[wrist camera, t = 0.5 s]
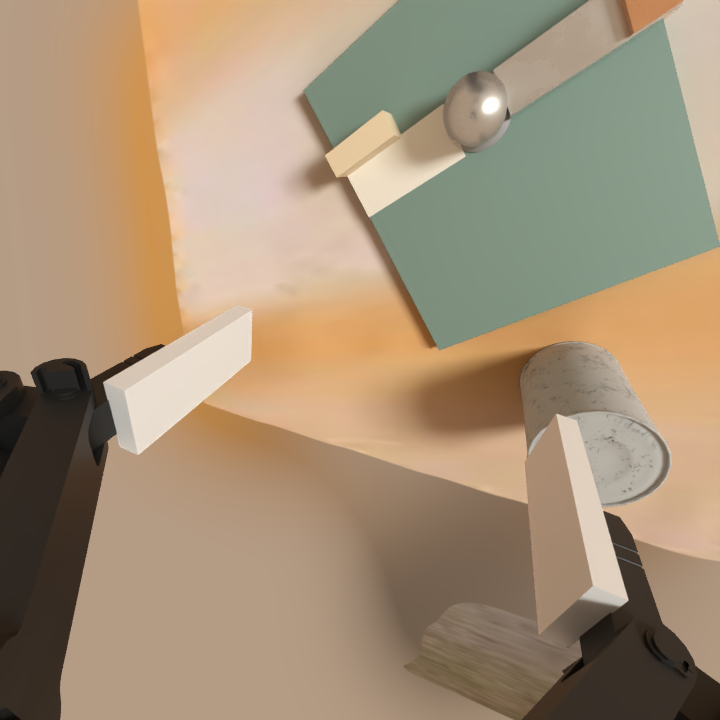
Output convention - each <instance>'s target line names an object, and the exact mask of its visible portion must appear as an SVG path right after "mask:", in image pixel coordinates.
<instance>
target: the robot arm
mask: <svg viewBox="0 0 720 720" xmlns="http://www.w3.org/2000/svg"><path fill="white" fill-rule="evenodd" d="M251 342H252V309H249V308H246V307H243V306H240V305H236V306H234V307H232V308H230V309H229V310H227V311H225V312H224V313H222V314H220V315H218V316H217V317H215V318H213V319H211V320H210V321H208V322H206V323H205V324H203V325H201V326H199V327H198V328H196V329H194V330H192V331H191V332H189V333H187V334H186V335H184V336H182V337H180V338H179V339H177V340H175V341H173V342H172V343H170V344H168V345H167V346H165V345H162V344H160V345H157V346H153V347H150V348H146V349H144V350H142V351H141V352H139V353H137V354H135V355H134V357H130V358H128V359H126V360H124V362H121V363H119V364H117V365H115V366H114V367H112V368H110V369H108V370H106V371H105V372H103V373H101V374H99V375H97V376H95V377H94V378H92V379H90V377H89V373H88V370H87V366H86V364H85V363H84V362H83V361H80V360H77V359H71V358H62V359H55V360H51V361H48V362H44V363H42V364H40V365H39V366H37V367H35V368H34V369H33V371H31V375H32V378H33V380H34V383H35V385H36V387H30V386H23V383H22V381H21V378H20V376H19V375H18V374H16V373H15V372H10V371H0V720H60V716H61V715H60V714H61V698H60V680H61V674H62V668H63V664H64V659H65V654H66V650H67V645H68V640H69V635H70V630H71V626H72V620H73V616H74V611H75V606H76V601H77V596H78V592H79V587H80V582H81V577H82V573H83V568H84V563H85V558H86V554H87V548H88V544H89V539H90V534H91V530H92V525H93V520H94V515H95V510H96V505H97V501H98V496H99V491H100V486H101V481H102V476H103V471H104V467H105V462H106V458H107V453H108V442H107V441H108V440H109V439H110V438H112V437H113V436H114V435H117V439H118V443H119V447H121V448H123V449H126V450H128V451H130V452H133V453H135V454H137V455H139V454H140V453H141V452H142V451H144V450H145V449H146V448H147V447H148V446H150V445H151V444H152V443H153V442H154V441H156V440H157V439H158V438H159V437H160V436H162V435H163V434H164V433H165V432H166V431H168V430H169V429H170V428H171V427H172V426H173V425H175V424H176V423H177V422H178V421H180V420H181V419H182V418H183V417H184V416H186V415H187V414H188V413H189V412H190V411H191V410H193V409H194V408H195V407H196V406H197V405H199V404H200V403H201V402H202V401H203V400H205V399H206V398H207V397H208V396H209V395H211V394H212V393H213V392H214V391H215V390H217V389H218V388H219V387H220V386H221V385H223V384H224V383H225V382H226V381H227V380H229V379H230V378H231V377H232V376H233V375H235V374H236V373H237V372H238V371H239V370H241V369H242V368H243V367H244V366H245V365H247V364H248V363H249V362H250V361H251ZM525 470H526V483H527V495H528V506H529V507H528V508H529V520H530V533H531V545H532V557H533V571H534V583H535V595H536V608H537V621H538V634H539V635H540V636H542V637H544V638H546V639H548V640H551V641H553V642H555V643H557V644H560V645H562V646H564V647H566V648H569V647H570V646H571V645H573V644H574V643H575V642H576V641H578V640H579V639H580V644H581V650H582V657H581V658H579V659H578V660H577V661H575V662H574V663H573V664H571V665H570V666H568V667H567V668H566V669H564V670H563V673H564V675H563V676H562V677H561V678H560V679H559V680H558V681H557V682H556V683H555V684H554V685H553V687H552V688H551V689H550V690H549V691H548V692H547V693H546V694H545V695H544V696H543V697H542V698H541V700H540V701H539V702H538V703H537V704H536V705H535V706H534V707H533V708H532V709H531V710H530V711H529V712H528V714H527V715H526V716H525V717H524V718H523V719H522V720H720V684H719V683H718V682H717V681H715V680H714V679H712V678H711V677H710V676H708V675H707V674H705V673H704V672H703V671H701V670H700V669H699V668H698V667H696V666H695V663H694V660H693V658H692V656H691V655H690V653H689V651H688V650H687V648H686V646H685V645H684V644H683V643H682V642H681V641H680V639H679V638H678V637H677V636H676V635H675V633H673V632H672V631H671V630H670V629H668V628H667V627H666V626H665V625H664V624H663V623H662V621H661V618H660V615H659V612H658V609H657V607H656V603H655V600H654V598H653V595H652V592H651V589H650V586H649V583H648V580H647V578H646V575H645V571H644V569H642V563H641V560H640V557H639V555H638V554H637V552H638V551H637V549H636V545H635V543H634V540H633V537H632V534H631V533H630V531H629V530H628V528H627V527H626V526H625V524H624V523H623V521H622V520H621V518H620V517H618V516H615V515H613V514H610V513H607V512H605V511H603V509H602V506H601V502H600V499H599V496H598V492H597V489H596V485H595V482H594V478H593V475H592V471H591V468H590V464H589V461H588V457H587V454H586V450H585V447H584V443H583V440H582V436H581V433H580V429H579V426H578V422H577V420H574V419H571V418H568V417H565V416H562V415H559V414H556V415H555V416H554V418H553V419H552V421H551V422H550V424H549V425H548V427H547V429H546V430H545V432H544V433H543V435H542V436H541V438H540V439H539V441H538V442H537V444H536V446H535V447H534V449H533V450H532V452H531V453H530V455H529V456H528V458H527V460H526V461H525Z"/></svg>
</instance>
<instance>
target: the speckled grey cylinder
mask: <svg viewBox="0 0 720 720" xmlns="http://www.w3.org/2000/svg"><path fill="white" fill-rule="evenodd" d="M520 388H521V393H522V402H523V412H524V422H525V432H526V442H527V452H528V453H527V458H528V456H529V455H530V453H531V452H532V450H533V449H534V447H535V446H536V444H537V442H538V441H539V439H540V438H541V436H542V435H543V433H544V432H545V430H546V429H547V427H548V425H549V424H550V422H551V421H552V419H553V418H554V416H555V415H556V414H559V415H562V416H565V417H568V418H571V419H574V420H577V422H578V426H579V429H580V433H581V436H582V440H583V443H584V447H585V450H586V454H587V457H588V461H589V464H590V468H591V471H592V475H593V478H594V482H595V485H596V489H597V492H598V496H599V499H600V502H601V506H602V507H614V506H622V505H626V504H629V503H633V502H636V501H639V500H641V499H643V498H645V497H647V496H649V495H650V494H652V493H653V492H654V491H655V490H657V489H658V488H659V487H660V486H661V485H662V484H663V482H664V481H665V480H666V478H667V477H668V474H669V471H670V468H671V453H670V450H669V447H668V445H667V443H666V441H665V440H664V439H663V437H662V436H661V435H660V434H659V432H658V430H657V429H656V427H655V425H654V424H653V422H652V420H651V418H650V417H649V415H648V413H647V412H646V410H645V408H644V407H643V405H642V403H641V402H640V400H639V398H638V396H637V395H636V393H635V391H634V390H633V388H632V386H631V385H630V383H629V381H628V379H627V378H626V376H625V374H624V373H623V371H622V369H621V366H620V364H619V362H618V361H617V360H616V359H615V357H614V356H613V355H612V354H610V353H609V352H608V351H606V350H605V349H603V348H601V347H599V346H596V345H594V344H590V343H585V342H571V341H569V342H563V343H557V344H554V345H551V346H548V347H546V348H544V349H542V350H541V351H539V352H537V353H536V354H535V355H534V356H533V357H532V358H530V359H529V361H528V362H527V363H526V365H525V366H524V368H523V370H522V373H521V376H520Z"/></svg>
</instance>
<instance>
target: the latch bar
mask: <svg viewBox="0 0 720 720" xmlns="http://www.w3.org/2000/svg"><path fill="white" fill-rule="evenodd" d="M682 2H683V0H589V1H588V2H586V3H585V4H583V5H582V6H581V7H579V8H578V9H577V10H575V11H574V12H572V13H571V14H570V15H568V16H567V17H566V18H564V19H563V20H561V21H560V22H559V23H557V24H556V25H555V26H553V27H552V28H550V29H549V30H548V31H546V32H545V33H543V34H542V35H541V36H539V37H538V38H537V39H535V40H534V41H532V42H531V43H530V44H528V45H527V46H526V47H524V48H523V49H521V50H520V51H519V52H517V53H516V54H515V55H513V56H512V57H510V58H509V59H508V60H506V61H505V62H504V63H502V64H501V65H499V66H498V67H497V68H495V69H494V70H493V72H494V74H492V73H490V72H487V71H475V72H472V73H469V74H467V75H465V76H464V77H462V78H461V79H460V80H458V81H457V82H456V83H455V84H454V86H453V87H452V88H451V90H450V92H449V93H448V95H447V97H446V100H445V104H444V109H443V121H444V126H445V129H446V131H447V133H448V134H449V136H450V137H451V138H452V139H453V140H454V141H456V142H457V143H459V144H462V145H464V146H467V147H478V146H482V145H484V144H486V143H488V142H489V141H491V140H492V139H493V138H494V137H495V136H496V135H497V134H498V132H499V131H500V129H501V128H502V126H503V123H504V121H505V117H506V112H507V113H508V116H509V119H511V118H513V117H514V116H516V115H517V114H519V113H520V112H522V111H524V110H525V109H527V108H528V107H530V106H531V105H533V104H534V103H536V102H538V101H539V100H541V99H542V98H544V97H545V96H547V95H548V94H550V93H552V92H553V91H555V90H556V89H558V88H559V87H561V86H562V85H564V84H566V83H567V82H569V81H570V80H572V79H573V78H575V77H576V76H578V75H580V74H581V73H583V72H584V71H586V70H587V69H589V68H590V67H592V66H594V65H595V64H597V63H598V62H600V61H601V60H603V59H604V58H606V57H608V56H609V55H611V54H612V53H614V52H615V51H617V50H618V49H620V48H622V47H623V46H625V45H626V44H628V43H629V42H631V41H632V40H634V39H636V38H637V37H639V36H640V35H642V34H643V33H645V32H646V31H648V30H649V29H651V28H653V27H654V26H656V25H657V24H659V23H660V22H662V21H663V20H665V19H666V18H667V17H668V16H670V15H671V14H672V13H673V12H674V11H676V10H677V9H678V8H679V7H680V6H681V5H682Z"/></svg>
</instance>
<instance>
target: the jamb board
mask: <svg viewBox="0 0 720 720" xmlns="http://www.w3.org/2000/svg"><path fill="white" fill-rule="evenodd" d="M588 1H589V0H399V1H398V2H397V3H396V4H395V5H394V6H393V7H392V8H391V9H390V10H389V11H388V12H386V13H385V14H384V15H383V16H382V17H381V18H380V19H379V20H378V21H377V22H376V23H375V24H374V25H373V26H372V27H370V28H369V29H368V30H367V31H366V32H365V33H364V34H363V35H362V36H361V37H360V38H359V39H358V40H357V41H356V42H355V43H353V44H352V45H351V46H350V47H349V48H348V49H347V50H346V51H345V52H344V53H343V54H342V55H341V56H340V57H339V58H338V59H336V60H335V61H334V62H333V63H332V64H331V65H330V66H329V67H328V68H327V69H326V70H325V71H324V72H323V73H322V74H321V75H319V76H318V77H317V78H316V79H315V80H314V81H313V82H312V83H311V84H310V85H309V86H308V87H307V88H306V89H305V90H304V93H305V95H306V97H307V99H308V101H309V103H310V104H311V106H312V108H313V110H314V112H315V114H316V116H317V118H318V120H319V122H320V124H321V125H322V127H323V129H324V131H325V133H326V135H327V137H328V139H329V141H330V143H331V145H332V147H333V148H334V149H333V150H331V151H330V152H329V153H327V154H326V155H325V157H326V159H327V161H328V163H329V164H330V166H331V168H332V170H333V172H334V174H335V176H336V178H337V177H348V179H349V180H350V182H351V184H352V186H353V188H354V190H355V192H356V194H357V196H358V198H359V200H360V201H361V203H362V205H363V207H364V209H365V211H366V213H367V215H368V217H370V219H371V221H372V223H373V225H374V227H375V229H376V231H377V233H378V234H379V236H380V238H381V240H382V242H383V244H384V246H385V248H386V250H387V252H388V254H389V255H390V257H391V259H392V261H393V263H394V265H395V267H396V269H397V271H398V273H399V275H400V277H401V278H402V280H403V282H404V284H405V286H406V288H407V290H408V292H409V294H410V296H411V298H412V299H413V301H414V303H415V305H416V307H417V309H418V311H419V313H420V315H421V317H422V319H423V321H424V322H425V324H426V326H427V328H428V330H429V332H430V334H431V336H432V338H433V340H434V342H435V343H436V345H437V347H438V349H439V350H442V349H444V348H447V347H450V346H452V345H455V344H458V343H461V342H463V341H466V340H469V339H471V338H474V337H477V336H479V335H482V334H485V333H488V332H490V331H493V330H496V329H498V328H501V327H504V326H506V325H509V324H512V323H515V322H517V321H520V320H523V319H525V318H528V317H531V316H533V315H536V314H539V313H542V312H544V311H547V310H550V309H552V308H555V307H558V306H561V305H563V304H566V303H569V302H571V301H574V300H577V299H579V298H582V297H585V296H588V295H590V294H593V293H596V292H598V291H601V290H604V289H606V288H609V287H612V286H615V285H617V284H620V283H623V282H625V281H628V280H631V279H634V278H636V277H639V276H642V275H644V274H647V273H650V272H652V271H655V270H658V269H661V268H663V267H666V266H669V265H671V264H674V263H677V262H679V261H682V260H685V259H688V258H690V257H693V256H696V255H698V254H701V253H704V252H706V251H709V250H712V249H715V248H717V247H720V244H719V240H718V236H717V232H716V228H715V224H714V220H713V216H712V212H711V208H710V204H709V200H708V196H707V192H706V188H705V184H704V180H703V176H702V172H701V168H700V164H699V160H698V156H697V152H696V148H695V144H694V140H693V136H692V132H691V128H690V124H689V120H688V116H687V112H686V108H685V104H684V100H683V96H682V92H681V88H680V84H679V80H678V76H677V72H676V68H675V64H674V60H673V56H672V52H671V48H670V44H669V40H668V36H667V32H666V28H665V24H664V20H663V21H662V22H660V23H659V24H657V25H656V26H654V27H653V28H651V29H649V30H648V31H646V32H645V33H643V34H642V35H640V36H639V37H637V38H636V39H634V40H632V41H631V42H629V43H628V44H626V45H625V46H623V47H622V48H620V49H618V50H617V51H615V52H614V53H612V54H611V55H609V56H608V57H606V58H604V59H603V60H601V61H600V62H598V63H597V64H595V65H594V66H592V67H590V68H589V69H587V70H586V71H584V72H583V73H581V74H580V75H578V76H576V77H575V78H573V79H572V80H570V81H569V82H567V83H566V84H564V85H562V86H561V87H559V88H558V89H556V90H555V91H553V92H552V93H550V94H548V95H547V96H545V97H544V98H542V99H541V100H539V101H538V102H536V103H534V104H533V105H531V106H530V107H528V108H527V109H525V110H524V111H522V112H520V113H519V114H517V115H516V116H514V117H513V118H511V119H509V116H508V113H507V112H506V117H505V121H504V123H503V126H502V128H501V129H500V131H499V132H498V134H497V135H496V136H495V137H494V138H493V139H492V140H491V141H489V142H488V143H486V144H484V145H482V146H478V147H467V146H464V145H462V144H459V143H457V142H456V141H454V140H453V139H452V138H451V137H450V136H449V134H448V133H447V131H446V129H445V126H444V121H443V109H444V104H445V100H446V97H447V95H448V93H449V92H450V90H451V88H452V87H453V86H454V84H455V83H456V82H457V81H458V80H460V79H461V78H462V77H464V76H465V75H467V74H469V73H472V72H475V71H487V72H490V73H492V74H494V72H493V70H494V69H495V68H497V67H498V66H499V65H501V64H502V63H504V62H505V61H506V60H508V59H509V58H510V57H512V56H513V55H515V54H516V53H517V52H519V51H520V50H521V49H523V48H524V47H526V46H527V45H528V44H530V43H531V42H532V41H534V40H535V39H537V38H538V37H539V36H541V35H542V34H543V33H545V32H546V31H548V30H549V29H550V28H552V27H553V26H555V25H556V24H557V23H559V22H560V21H561V20H563V19H564V18H566V17H567V16H568V15H570V14H571V13H572V12H574V11H575V10H577V9H578V8H579V7H581V6H582V5H583V4H585V3H586V2H588Z"/></svg>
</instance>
